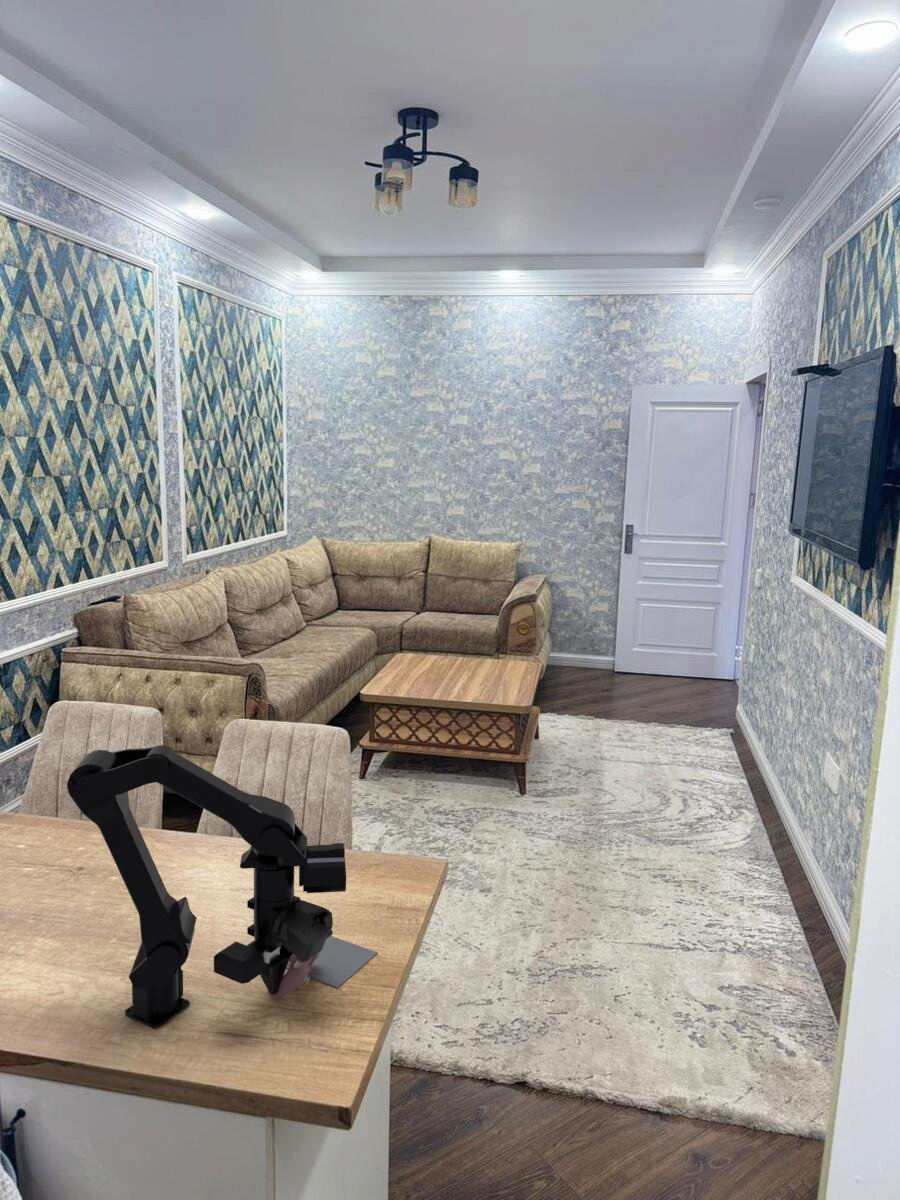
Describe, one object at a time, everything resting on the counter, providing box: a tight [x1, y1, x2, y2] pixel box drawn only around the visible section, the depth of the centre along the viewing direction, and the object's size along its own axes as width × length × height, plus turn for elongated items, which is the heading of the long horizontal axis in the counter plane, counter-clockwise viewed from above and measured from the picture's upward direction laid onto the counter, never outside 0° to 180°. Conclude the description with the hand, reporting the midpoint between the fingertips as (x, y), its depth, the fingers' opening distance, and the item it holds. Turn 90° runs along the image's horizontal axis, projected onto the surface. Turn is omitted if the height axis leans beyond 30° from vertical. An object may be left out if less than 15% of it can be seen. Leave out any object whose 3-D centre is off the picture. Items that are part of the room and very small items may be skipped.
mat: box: [286, 935, 379, 989], centre depth 136 cm, size 11×14×1 cm
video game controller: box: [268, 952, 320, 999], centre depth 128 cm, size 10×5×7 cm, turn 170°
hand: (273, 993), depth 123 cm, fingers closed
